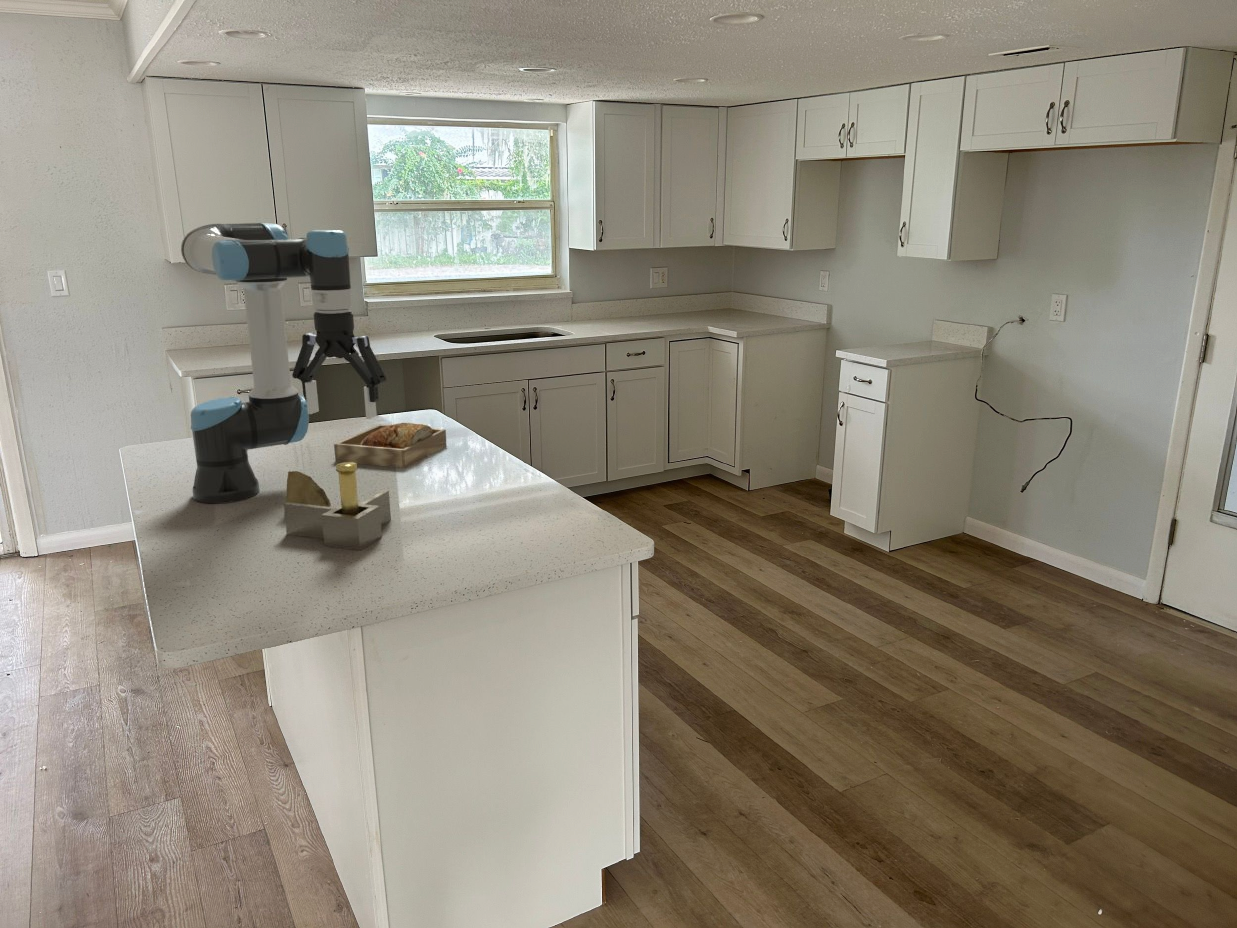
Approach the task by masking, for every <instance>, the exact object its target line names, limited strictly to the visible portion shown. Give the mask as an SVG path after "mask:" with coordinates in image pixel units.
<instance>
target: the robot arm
mask: <svg viewBox="0 0 1237 928" xmlns="http://www.w3.org/2000/svg"><path fill="white" fill-rule="evenodd" d="M180 247H181V248H180V250H181V251H180V253H181V257H182V259H183V260H184V262H185V263H186V264H187V266H188V267H189V268H190V269H192V270H194V271H196V272H198V273H201V274H206V275H213V276H214V275H215V276H217V278H218V279H220V280H221V281H233V282H235V283H236V284H237V285H238V286H240V287H241V288H242V290H243V299H244V307H245V317H246V325H247V333H248V342H249V351H250V360H251V361H250V362H251V369H252V377H253V388H252V389H251V390H250V391H249V392H248V400H249V401H248V402H243V401H242V400H241V398H239V397H235V396H233V397H232V396H231V397H221V398H215V399H212V400H208V401H205V402H202V403H199V404H198V405H196V406H194V407H193V408H192V410H191V411H190V430H191V432H192V439H193V445H194V446H193V447H194V453H195V460H196V470H195V471H196V472H195V475H194V481H193V486H192V497H193V500H195V501H196V502H200V503H202V504H204V503H205V504H223V503H224V504H225V503H232V502H238V501H242V500H246V499H248V498H251V497H253V496H255V495H257V494H259V492H260V483H259V480H258V479H257V478H256V475H255V473H254V471H253V468H252V465H251V463H250V462H249V461H250V460H249V456H248V454H249V453H248V451H249V450H256V449H262V448H267V447H268V448H269V447H274V446H281V445H285V446H286V445H289V444H294V443H297V442H301V441H302V440H303V439H304V438H305V436H306V435H307V433H308V428H309V422H310V416H309V415H313V414H315V413H318V412H319V411H320V407H319V399H318V398H319V396H318V388H317V387H318V386H317V380H314V379H315V378H314V376H315V375H316V374H317V373H318V371H319V370H320V368H321V367H322V365H323V363H324V362H325V361H326V359H327V358H329V359H331V358H337V359H344V360H345V362H348V363H349V364H350V365H351V367H352V368H353V369H354V370H355V372H356V373H357V374H358V376H360V378H361V379H362V380H363V382H364V383H365V384H366V386H364V387H363V394H364V395H363V396H364V409H365V419H366V420H370V419H372V418H375V417H378V416H377V403H376V402H378V401H379V385H380V384H383V383H385V382H387V377H386V375H385V373H384V371H383V369H382V367H381V365H380V363H379V361H378V360H377V357H376V355H375V353H374V352H373V348H372V347H371V343H370V342H371V341H370V338H369V336H368V335H362V336H355V334H354V331H355V323H354V322H355V320H354V312H353V311H352V310H351V309H353V307H354V305H353V295H352V286H351V274H350V272H351V271H350V257H349V256H350V255H349V253H350V248H349V245H348V238H347V234H346V233H345V232H344V231H343V230H339V229H337V230H335V229H314V230H308V232H307V233H306V237H300V238H292V239H291V238H289V236H288V234H287V233H286V230H285V229H284V228H283V227H282V226H281V225H279V224H277V223H267V222H248V223H247V222H245V223H210V224H205V225H202V226H199V227H197V228H196V227H195V228H194V229H192V230H191V231H189V232H188V233H186V235H185V237H184V238H183V240H182V242H181V246H180ZM290 278H291V279H292V278H309V279H310V289H311V290H310V291H311V301H312V309H313V310H315V311H314V312H313V323H314V330H315V331H316V334H314V333H313V332H308V333H304V334H303V335H302V339H301V340H302V341H301V342H302V343H301V344H302V346H301V348H300V351H299V354H298V357H297V359H296V363H295V365H294V369H293V371H292V375H291V372H290V361H289V352H288V351H289V350H288V342H287V331H286V322H285V321H286V319H285V312H284V311H285V309H284V300H283V292H282V289H283V287H284V285H285V284H286V283H287V282H288V279H290ZM316 344H317V346H318V349H317V351H315V353H314V357H313V358H312V359H311V357H312V353H313V351H314V349H315V345H316ZM355 347H356V348H358V351H359V352H358V351H357V349H356V348H355ZM360 355H361V356H360ZM361 357H362V358H361ZM310 359H311V361H310ZM291 376H292V379H298V380H299V381H300V382H301V385H302V386H301V387H302V395H303V396H302V395H299V390H298V389H297V388H296V387H295V386H293V385H292V381H291V380H292V379H291ZM305 398H306V399H305Z"/></svg>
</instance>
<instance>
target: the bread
mask: <svg viewBox="0 0 1237 928" xmlns="http://www.w3.org/2000/svg"><path fill="white" fill-rule="evenodd" d="M388 425H389V426H386V427H383V428H381V429H379V430H377V431H374V432H373V433H371V434H369V435H368V436H367V437H365V439H364V440H362V442H361V444H360V445H362V446H373V447H385V448H397V449H404V448H406V447H408V446H410V445H412V444H414V443H416V442H418V441H420V440H422V439H424V438H426V437H428V436H430V435H432V434H433V431H432V427H431V426H430V425H427V424H424V423H412V422H411V423H410V422H401V423H395V424H388Z"/></svg>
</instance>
